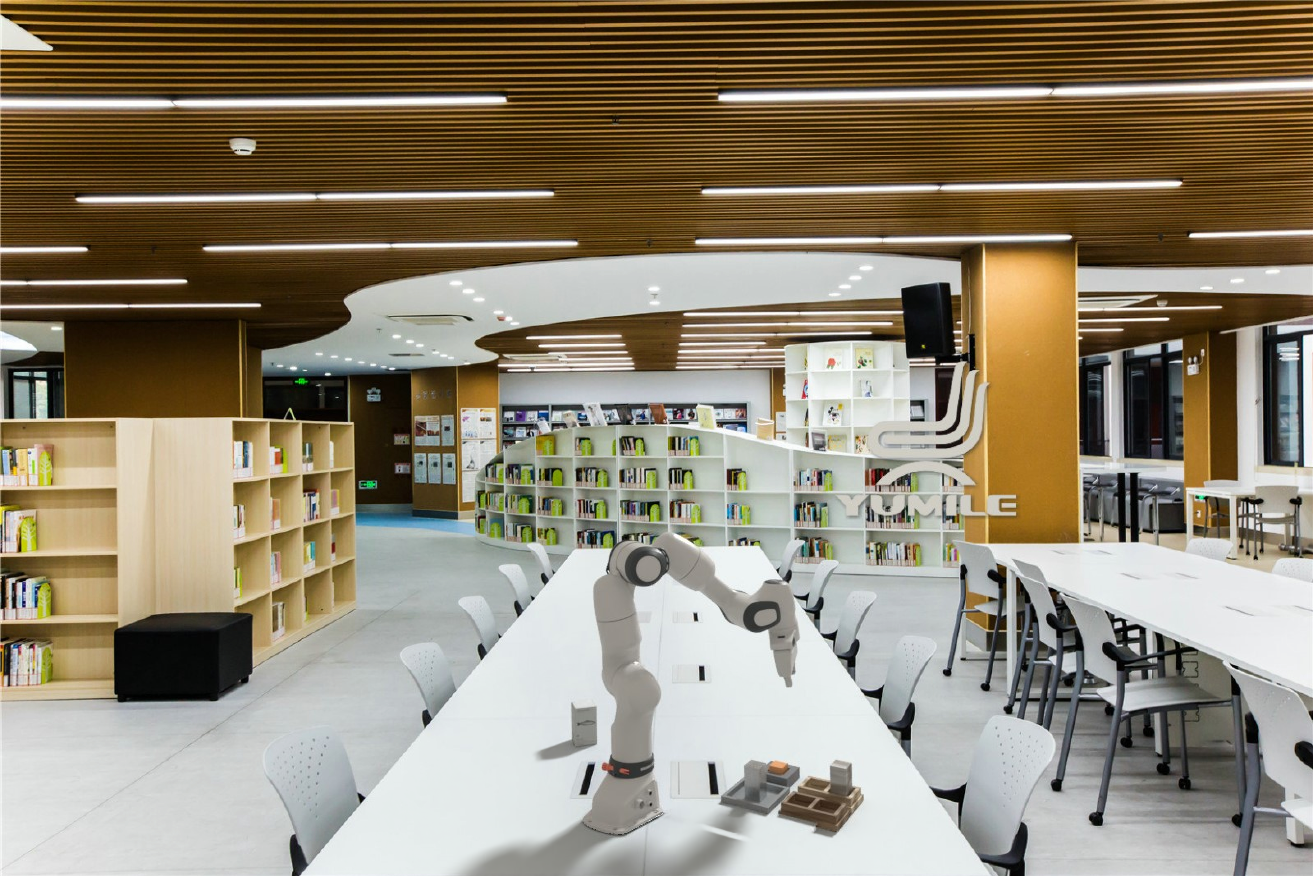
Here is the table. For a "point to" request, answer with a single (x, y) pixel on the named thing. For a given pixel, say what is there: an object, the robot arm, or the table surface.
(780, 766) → the button
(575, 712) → the supplement box
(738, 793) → the tray
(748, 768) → the block
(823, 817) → the pallet
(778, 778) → the button console
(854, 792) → the tray
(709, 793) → the table surface
